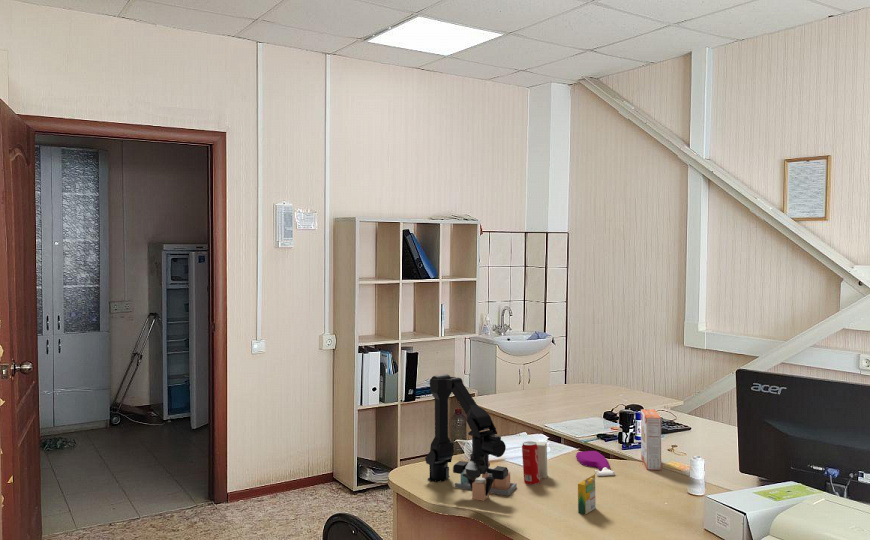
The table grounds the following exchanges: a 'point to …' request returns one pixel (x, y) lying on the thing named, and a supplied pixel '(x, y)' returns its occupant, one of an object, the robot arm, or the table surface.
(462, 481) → the pusher plate
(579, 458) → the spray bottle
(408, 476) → the table surface
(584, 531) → the table surface
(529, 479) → the beverage can
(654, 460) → the cracker box
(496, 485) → the front jar
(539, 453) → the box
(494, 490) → the tray
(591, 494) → the crayon box
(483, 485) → the loose jar
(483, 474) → the middle jar
